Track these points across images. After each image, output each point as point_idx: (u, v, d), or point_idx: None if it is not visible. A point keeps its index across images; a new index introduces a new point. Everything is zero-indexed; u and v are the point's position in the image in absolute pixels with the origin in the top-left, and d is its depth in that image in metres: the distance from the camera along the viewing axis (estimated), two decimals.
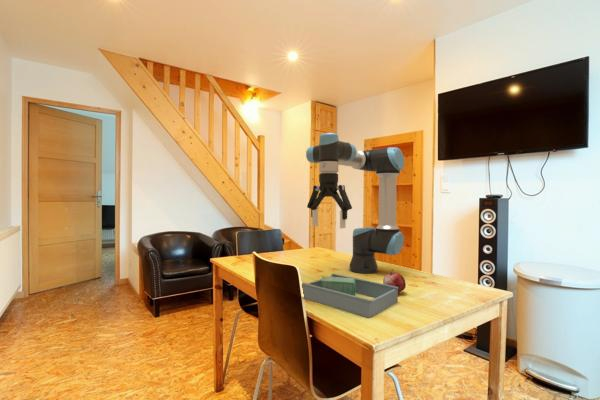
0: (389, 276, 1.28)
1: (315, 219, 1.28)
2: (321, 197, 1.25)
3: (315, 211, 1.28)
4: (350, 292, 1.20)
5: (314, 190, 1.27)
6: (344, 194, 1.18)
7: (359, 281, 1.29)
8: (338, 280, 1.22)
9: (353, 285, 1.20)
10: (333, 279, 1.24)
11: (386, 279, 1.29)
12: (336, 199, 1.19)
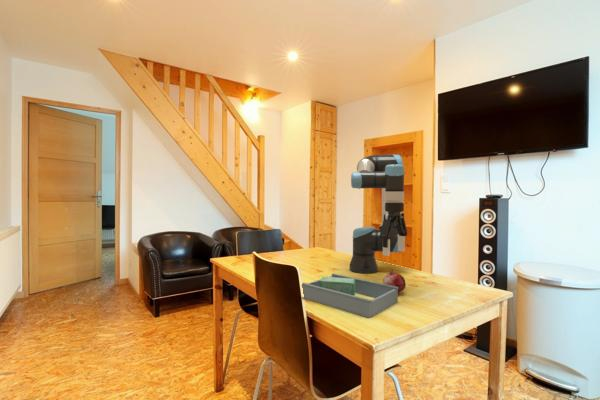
0: (389, 276, 1.28)
1: (400, 245, 1.34)
2: (396, 224, 1.32)
3: (400, 237, 1.34)
4: (349, 293, 1.19)
5: None
6: (384, 223, 1.24)
7: (359, 281, 1.29)
8: (338, 280, 1.22)
9: (352, 285, 1.19)
10: (333, 279, 1.23)
11: (386, 279, 1.29)
12: None
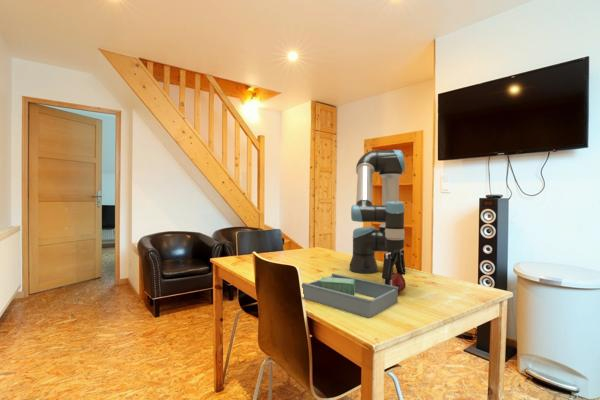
0: None
1: None
2: (396, 261, 1.32)
3: None
4: (349, 293, 1.19)
5: None
6: (385, 263, 1.25)
7: (359, 281, 1.29)
8: (337, 281, 1.21)
9: (352, 286, 1.18)
10: (332, 280, 1.23)
11: None
12: None
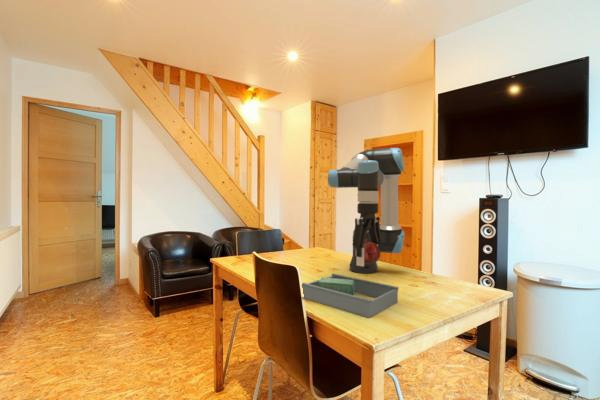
0: None
1: None
2: (370, 229, 1.17)
3: None
4: None
5: None
6: (356, 229, 1.10)
7: (359, 281, 1.29)
8: (336, 281, 1.20)
9: (351, 287, 1.17)
10: (331, 280, 1.22)
11: None
12: None
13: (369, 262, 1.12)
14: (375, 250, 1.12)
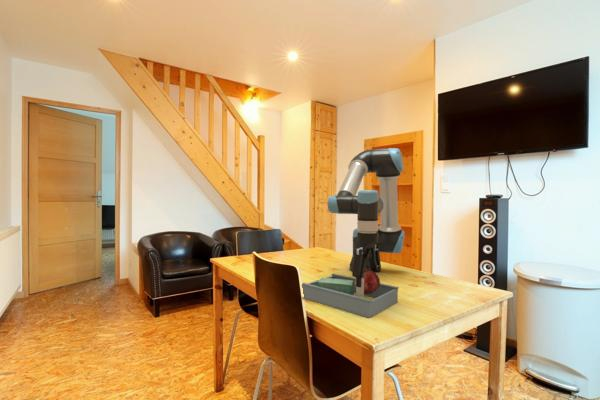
0: None
1: None
2: (369, 257, 1.18)
3: None
4: None
5: None
6: (356, 259, 1.11)
7: None
8: (336, 282, 1.20)
9: (350, 287, 1.17)
10: (331, 281, 1.21)
11: None
12: None
13: (369, 292, 1.12)
14: (375, 280, 1.12)
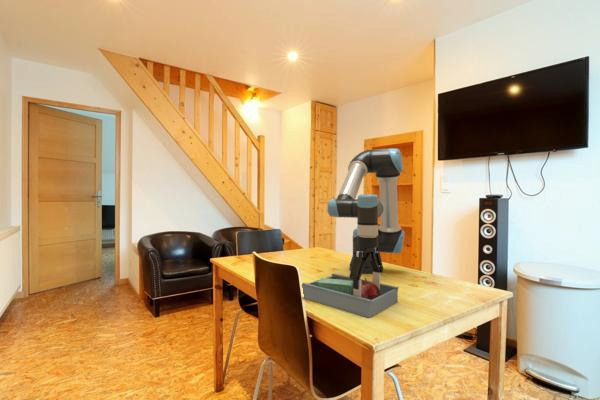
0: (361, 286, 1.14)
1: (375, 282, 1.21)
2: (370, 260, 1.18)
3: (375, 274, 1.21)
4: None
5: None
6: (355, 261, 1.10)
7: None
8: (335, 282, 1.19)
9: (350, 288, 1.16)
10: (330, 281, 1.21)
11: None
12: None
13: None
14: (375, 292, 1.12)
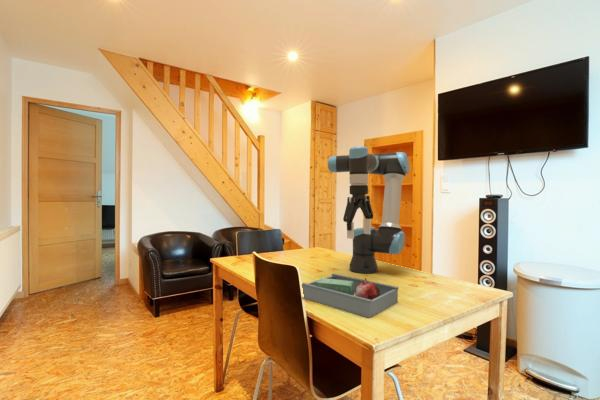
0: (361, 286, 1.14)
1: (366, 228, 1.34)
2: (361, 207, 1.31)
3: (366, 220, 1.34)
4: None
5: None
6: (348, 206, 1.23)
7: (359, 281, 1.29)
8: (335, 282, 1.19)
9: (349, 288, 1.16)
10: (330, 281, 1.21)
11: (358, 289, 1.14)
12: None
13: None
14: (375, 292, 1.12)
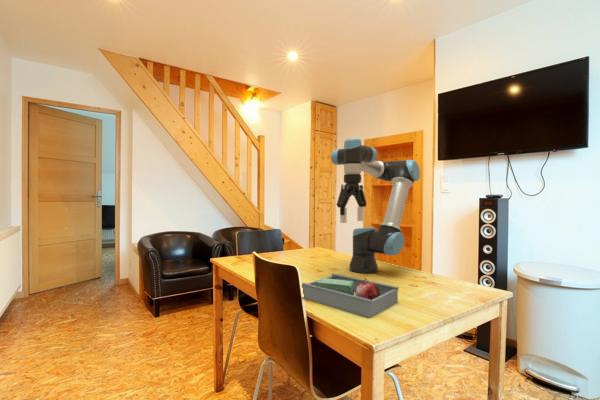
0: (361, 286, 1.14)
1: (359, 215, 1.43)
2: (355, 195, 1.41)
3: (359, 208, 1.43)
4: None
5: None
6: (341, 192, 1.33)
7: (359, 281, 1.29)
8: (334, 282, 1.19)
9: (349, 288, 1.16)
10: (330, 281, 1.21)
11: (358, 289, 1.14)
12: None
13: None
14: (375, 292, 1.12)
